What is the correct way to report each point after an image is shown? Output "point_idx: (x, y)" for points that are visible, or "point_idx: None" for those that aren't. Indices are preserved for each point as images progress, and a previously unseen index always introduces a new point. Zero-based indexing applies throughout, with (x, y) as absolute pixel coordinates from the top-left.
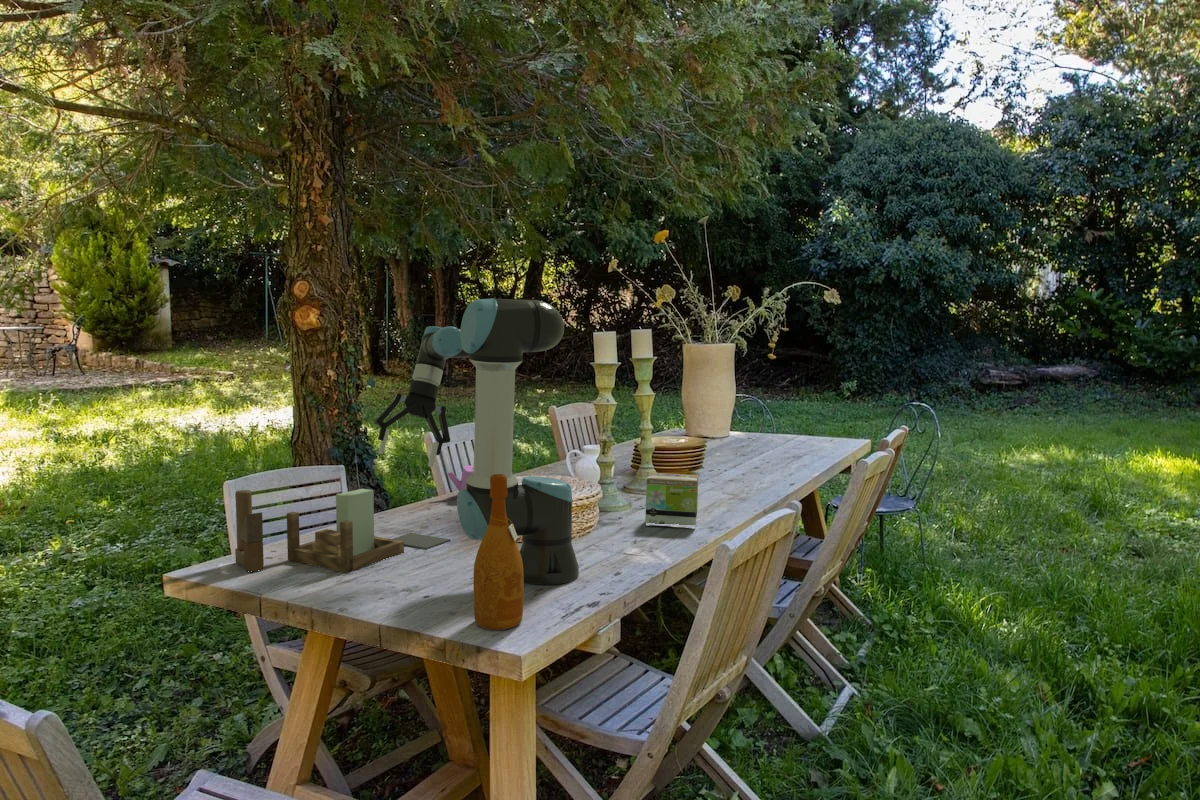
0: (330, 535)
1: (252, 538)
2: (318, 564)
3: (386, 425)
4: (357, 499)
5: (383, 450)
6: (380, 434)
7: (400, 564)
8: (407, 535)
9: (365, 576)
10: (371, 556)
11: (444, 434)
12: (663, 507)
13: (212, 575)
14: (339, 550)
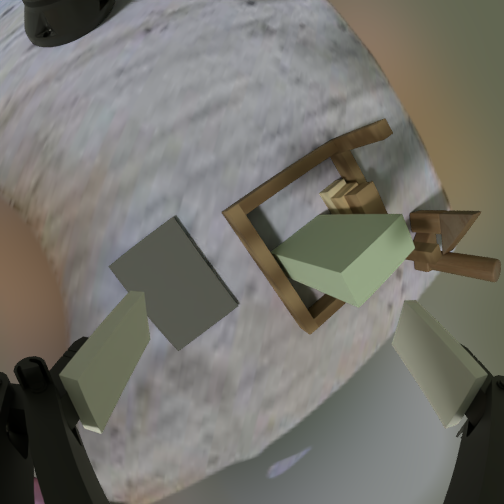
0: (377, 192)
1: (450, 211)
2: None
3: (502, 386)
4: (372, 232)
5: (413, 307)
6: (474, 357)
7: (246, 138)
8: (188, 332)
9: (309, 108)
10: (297, 162)
11: (3, 427)
12: None
13: None
14: (349, 184)
